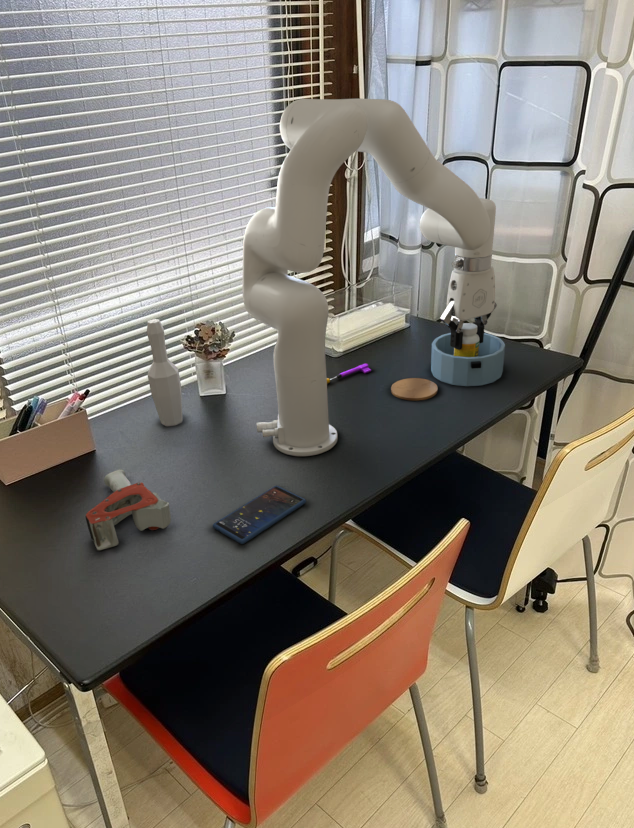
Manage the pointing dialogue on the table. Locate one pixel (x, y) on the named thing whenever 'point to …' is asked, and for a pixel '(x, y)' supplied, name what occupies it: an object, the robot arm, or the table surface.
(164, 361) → the faceted bottle
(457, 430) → the table surface
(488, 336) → the bowl
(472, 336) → the supplement bottle
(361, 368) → the pneumatic cylinder
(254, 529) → the smartphone
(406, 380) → the coaster
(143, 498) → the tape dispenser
